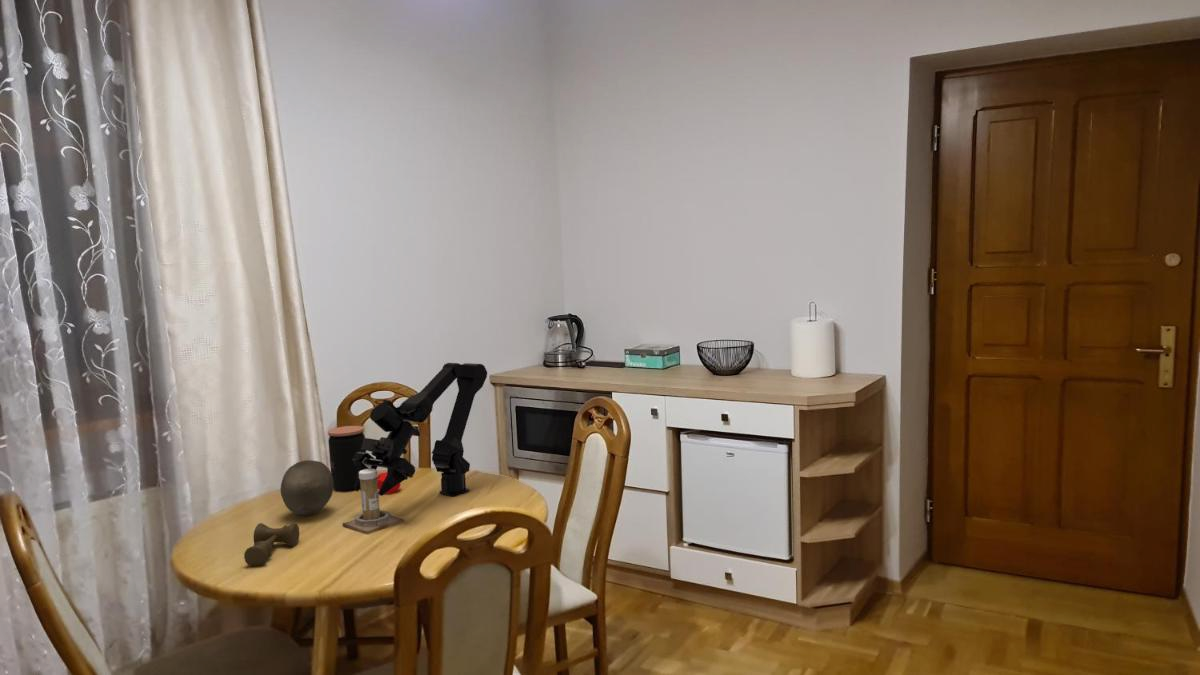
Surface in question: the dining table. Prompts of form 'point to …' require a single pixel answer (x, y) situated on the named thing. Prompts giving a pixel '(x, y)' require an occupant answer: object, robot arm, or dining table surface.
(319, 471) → the dark grey ball
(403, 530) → the dining table surface
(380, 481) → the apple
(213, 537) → the dining table surface
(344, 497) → the dining table surface
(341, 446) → the coffee jar
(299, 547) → the dining table surface
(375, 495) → the sprinkles bottle
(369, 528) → the hub seat
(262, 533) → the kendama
